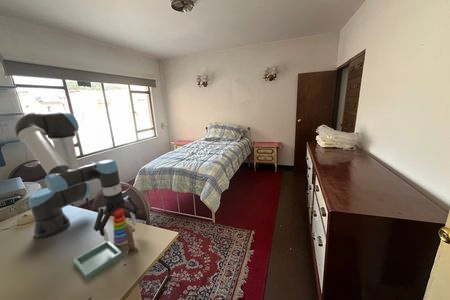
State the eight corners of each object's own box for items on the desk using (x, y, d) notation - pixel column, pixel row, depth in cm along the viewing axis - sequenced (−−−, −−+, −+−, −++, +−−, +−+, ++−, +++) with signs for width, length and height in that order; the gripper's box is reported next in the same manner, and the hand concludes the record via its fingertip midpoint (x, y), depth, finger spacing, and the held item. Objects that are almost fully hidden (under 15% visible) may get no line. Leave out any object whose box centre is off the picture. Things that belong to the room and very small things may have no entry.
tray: (74, 264, 81) (73, 259, 81) (108, 244, 92) (107, 240, 92) (87, 280, 73) (85, 275, 73) (123, 256, 84) (122, 251, 84)
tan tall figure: (125, 252, 86) (120, 227, 83) (134, 246, 90) (130, 222, 87) (132, 258, 83) (127, 232, 80) (142, 252, 86) (137, 226, 83)
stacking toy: (124, 248, 89) (117, 213, 85) (110, 246, 91) (102, 212, 87) (135, 236, 97) (129, 204, 92) (121, 235, 99) (115, 203, 94)
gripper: (84, 207, 76) (96, 251, 81) (142, 184, 95) (148, 221, 100) (77, 202, 80) (89, 244, 85) (134, 181, 99) (140, 216, 105)
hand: (121, 232), depth 93 cm, fingers open, 13 cm apart
